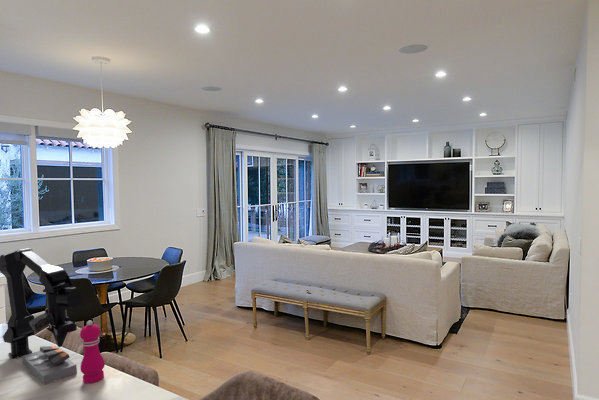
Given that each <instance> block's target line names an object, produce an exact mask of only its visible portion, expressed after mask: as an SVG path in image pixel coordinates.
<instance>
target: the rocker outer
mask: <svg viewBox="0 0 599 400" xmlns="http://www.w3.org/2000/svg"><path fill="white" fill-rule="evenodd" d="M70 358H71V357H70V354H69V353H67V352H66V351H64V352H63V353H61V354H59V355H58V356H56V357H54V358H52V359H50V362H51V363H52V364H53V365H54V366H56V365H58V364H59V363H60V364H63V363H64V362H65V360H66V359H70Z"/></svg>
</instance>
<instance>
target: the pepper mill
mask: <svg viewBox="0 0 599 400" xmlns="http://www.w3.org/2000/svg"><path fill="white" fill-rule="evenodd" d="M93 323H94V322H93V320H88V321H86V325H84V326H83V327H82V328H81V329H80V331H79V332H80V333H79V336H80V339H81V340H82V346H83V349H84V354H83V357H82V360H81V363H80V372H81V373H82V374H83V375H82V382H83V383H85V384H93V383H97V382H99V381H101V380H102V379H103V378H104V377H105V374H104V372H105V371H104V368H105V365H106V364H105V359H104V357H103V355H102V354H101V352H100V349H99V343H100V337H99V336H100V335H101V328H100V327H99V325H97V324H96V323H94V324H93Z"/></svg>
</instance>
